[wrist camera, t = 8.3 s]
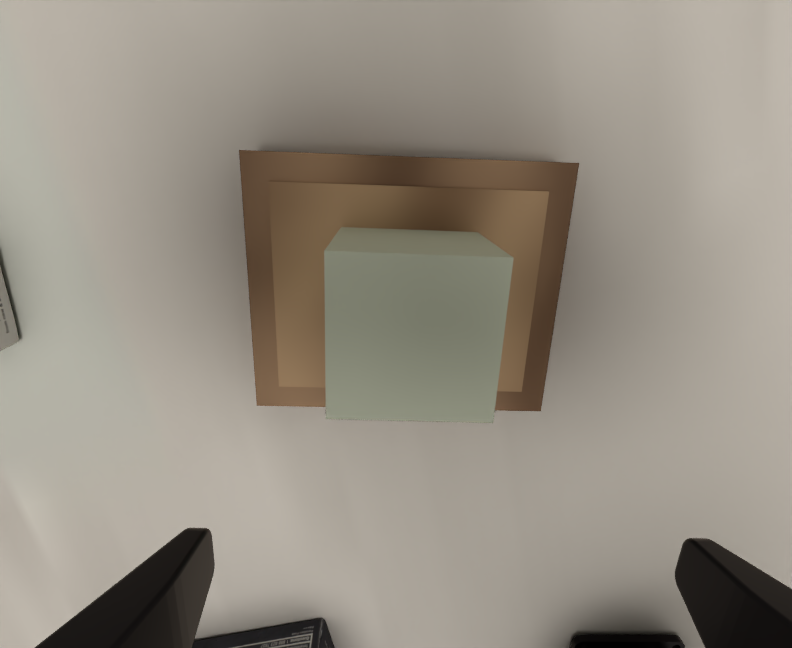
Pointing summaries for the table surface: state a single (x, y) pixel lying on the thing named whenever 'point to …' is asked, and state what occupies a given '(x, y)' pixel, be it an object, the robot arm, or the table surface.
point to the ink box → (6, 318)
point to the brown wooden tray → (396, 209)
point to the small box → (275, 637)
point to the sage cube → (414, 324)
